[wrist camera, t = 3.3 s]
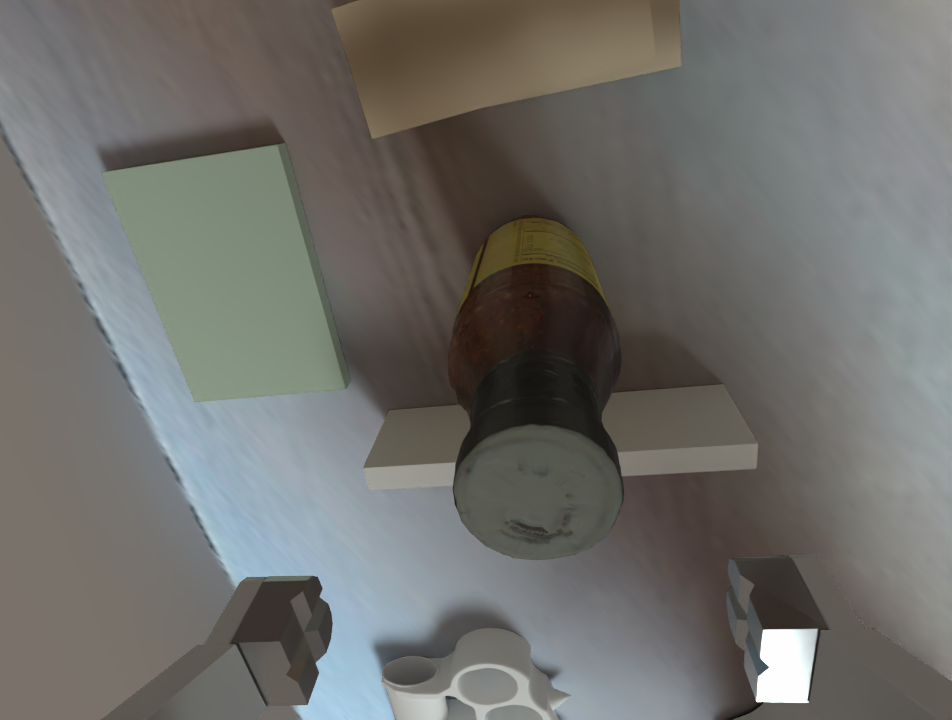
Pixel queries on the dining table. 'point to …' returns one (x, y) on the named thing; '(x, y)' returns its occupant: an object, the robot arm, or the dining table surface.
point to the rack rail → (624, 418)
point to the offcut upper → (480, 52)
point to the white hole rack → (473, 682)
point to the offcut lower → (667, 57)
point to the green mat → (232, 272)
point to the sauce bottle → (535, 395)
